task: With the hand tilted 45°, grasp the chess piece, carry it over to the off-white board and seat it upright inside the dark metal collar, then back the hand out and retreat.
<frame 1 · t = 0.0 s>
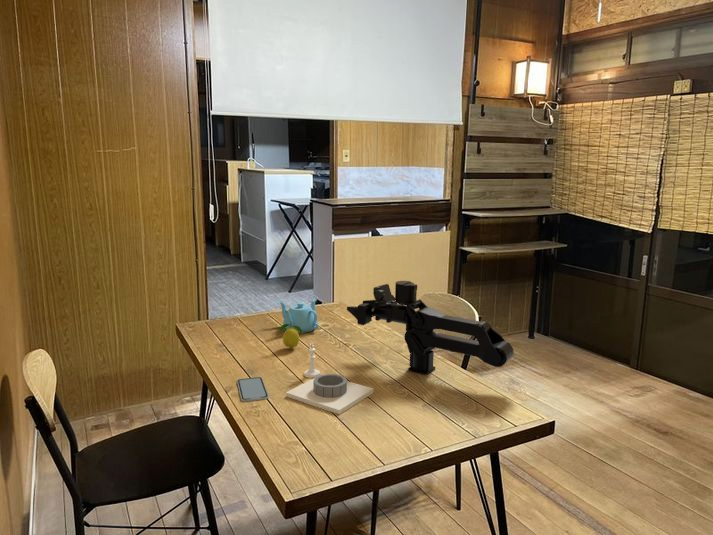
hand: (355, 305, 176), 17 cm above the table, tool horizontal, fingers open, 9 cm apart
collar board: (330, 394, 147), on the table
smartphone: (252, 391, 150), on the table
chess piece: (312, 375, 161), on the table
teapot: (298, 328, 205), on the table
lemon: (290, 349, 182), on the table
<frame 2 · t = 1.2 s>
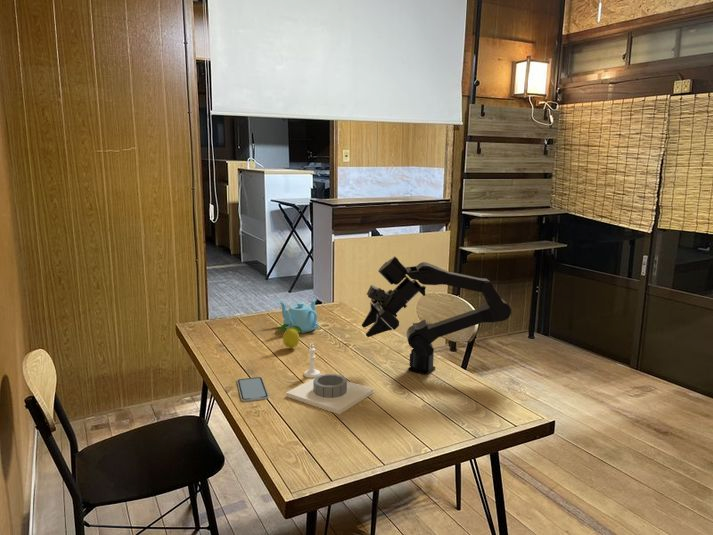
hand: (364, 331, 161), 13 cm above the table, tool tilted 45°, fingers open, 9 cm apart
nothing on the table moved.
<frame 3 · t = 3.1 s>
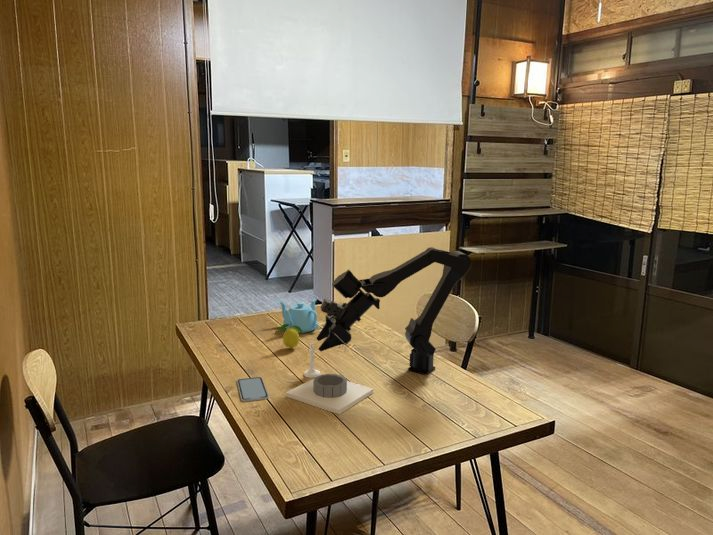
hand: (318, 344, 159), 9 cm above the table, tool tilted 45°, fingers open, 9 cm apart
nothing on the table moved.
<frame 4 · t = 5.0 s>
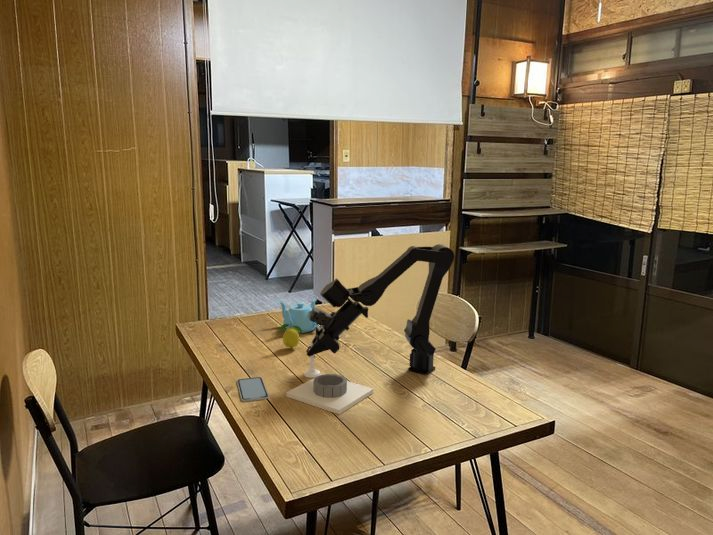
hand: (307, 354, 159), 7 cm above the table, tool tilted 45°, fingers closed on chess piece
chess piece: (312, 375, 161), on the table, touching gripper
everything else where it was.
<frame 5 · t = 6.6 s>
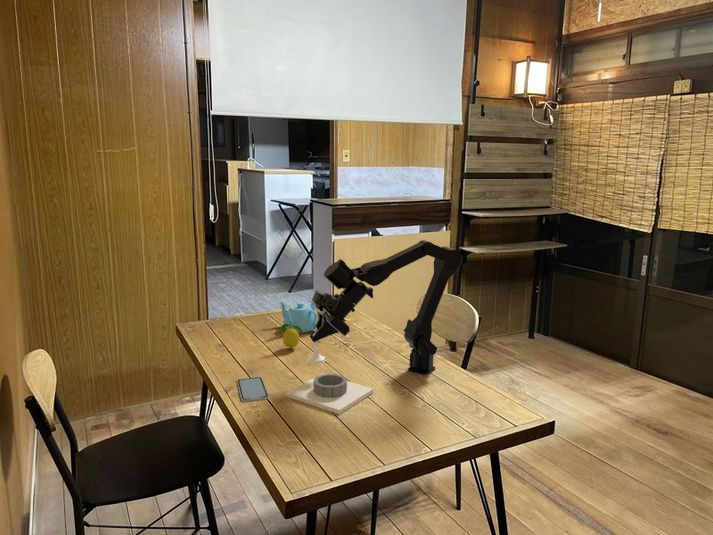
hand: (311, 339, 152), 13 cm above the table, tool tilted 45°, fingers closed on chess piece
chess piece: (316, 361, 154), point 6 cm above the table, touching gripper
everything else where it was.
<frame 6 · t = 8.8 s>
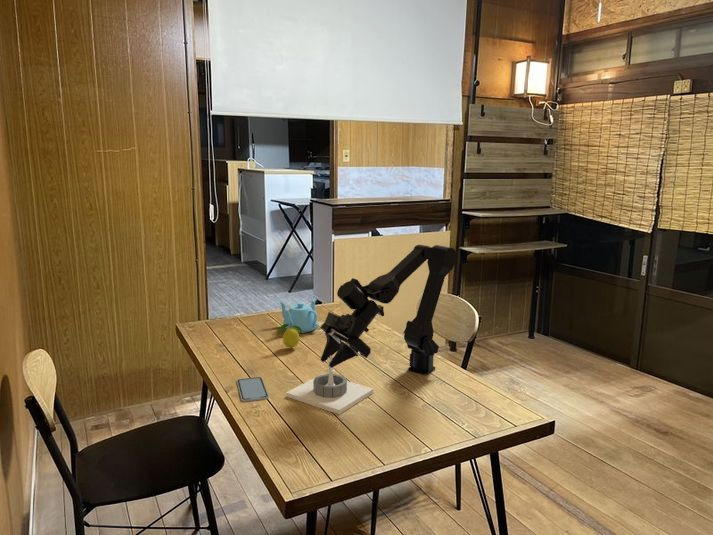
hand: (325, 363, 144), 9 cm above the table, tool tilted 45°, fingers open, 4 cm apart
chess piece: (330, 390, 147), point 1 cm above the table, touching collar board
everything else where it was.
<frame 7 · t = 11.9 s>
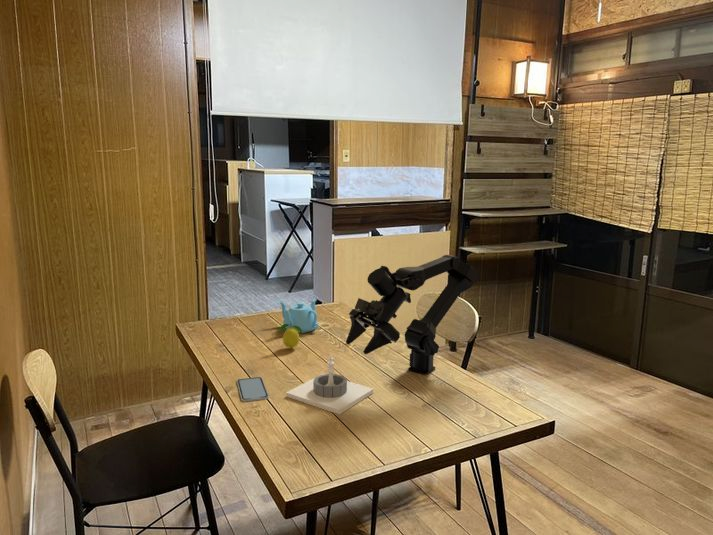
hand: (355, 348, 149), 12 cm above the table, tool tilted 45°, fingers open, 9 cm apart
nothing on the table moved.
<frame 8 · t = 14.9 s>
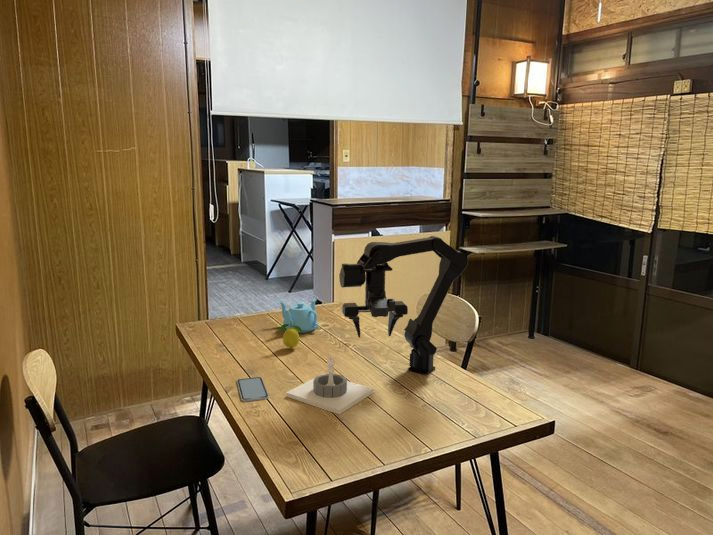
hand: (374, 336, 159), 12 cm above the table, tool pointing down, fingers open, 9 cm apart
nothing on the table moved.
at the end: chess piece 0.2 cm off-centre on the collar board, point 1.0 cm above the collar board's base; chess piece tilted 0°; the gripper is holding nothing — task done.
